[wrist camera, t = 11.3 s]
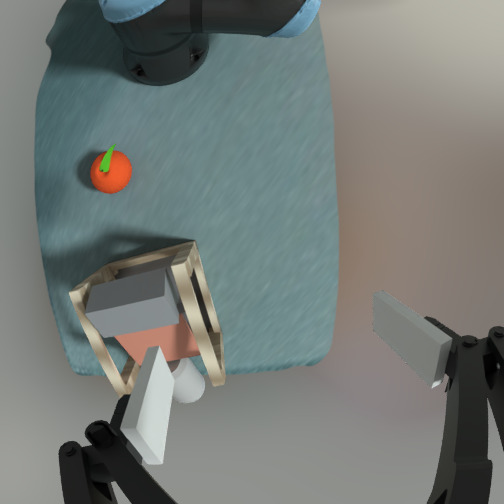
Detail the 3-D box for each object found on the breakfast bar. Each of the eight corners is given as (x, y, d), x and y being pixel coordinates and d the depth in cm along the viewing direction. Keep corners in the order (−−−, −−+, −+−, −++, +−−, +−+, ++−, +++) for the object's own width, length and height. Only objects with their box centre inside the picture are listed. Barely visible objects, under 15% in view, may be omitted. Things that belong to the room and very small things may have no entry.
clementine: (108, 144, 41) (91, 137, 34) (143, 151, 42) (131, 144, 35) (96, 188, 42) (78, 189, 35) (131, 197, 43) (116, 198, 36)
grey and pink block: (86, 287, 33) (78, 315, 29) (173, 265, 34) (172, 293, 30) (135, 352, 43) (134, 377, 39) (206, 338, 43) (210, 364, 40)
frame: (106, 264, 45) (67, 292, 30) (195, 240, 46) (185, 262, 31) (139, 350, 49) (119, 399, 34) (222, 333, 50) (226, 383, 36)
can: (167, 334, 46) (191, 366, 53) (136, 361, 42) (165, 390, 49) (194, 358, 41) (215, 387, 49) (160, 388, 37) (188, 413, 45)
